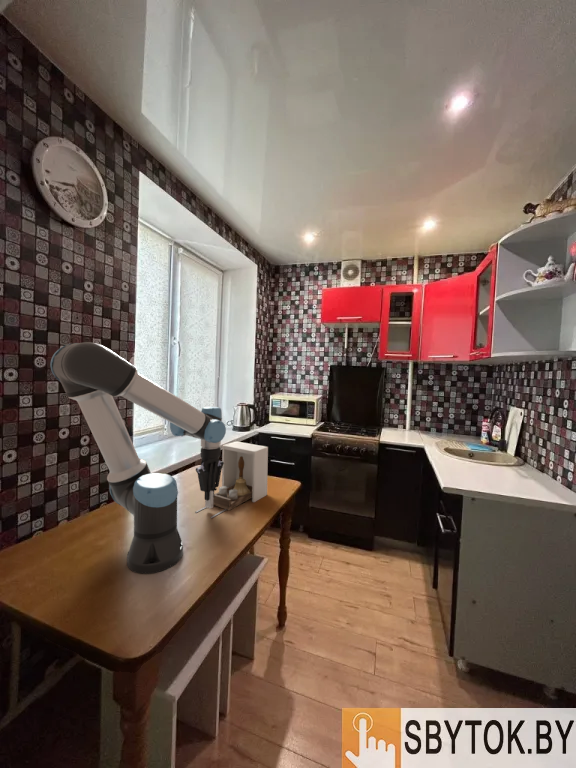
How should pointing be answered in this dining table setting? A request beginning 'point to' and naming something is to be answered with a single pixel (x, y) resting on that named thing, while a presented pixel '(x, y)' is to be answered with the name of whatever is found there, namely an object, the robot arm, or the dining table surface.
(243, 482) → the hand bell
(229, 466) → the white upright box
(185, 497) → the dining table surface
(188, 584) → the dining table surface
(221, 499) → the tray
